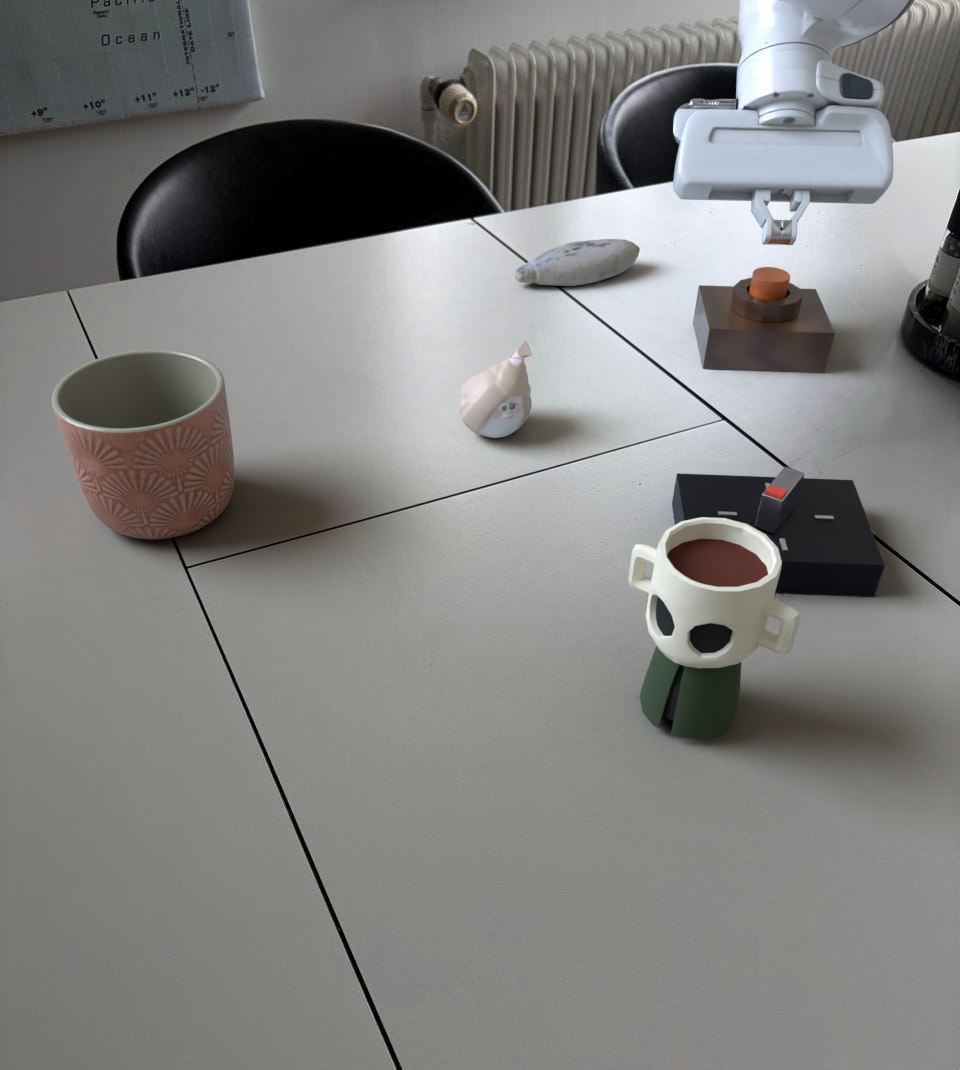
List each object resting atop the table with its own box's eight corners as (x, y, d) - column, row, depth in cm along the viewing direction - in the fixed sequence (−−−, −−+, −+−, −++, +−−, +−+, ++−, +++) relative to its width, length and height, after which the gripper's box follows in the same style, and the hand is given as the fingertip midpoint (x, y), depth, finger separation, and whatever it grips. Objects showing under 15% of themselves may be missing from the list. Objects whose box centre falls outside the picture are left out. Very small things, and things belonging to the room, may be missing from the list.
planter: (276, 498, 85) (258, 377, 78) (163, 576, 78) (131, 450, 70) (170, 451, 90) (144, 333, 83) (54, 519, 83) (14, 396, 75)
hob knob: (776, 498, 81) (785, 463, 79) (796, 505, 80) (805, 469, 78) (754, 527, 78) (762, 491, 76) (774, 534, 77) (783, 498, 75)
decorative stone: (504, 278, 118) (505, 248, 116) (621, 255, 123) (623, 226, 121) (529, 299, 114) (531, 269, 112) (649, 275, 119) (652, 245, 117)
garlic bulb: (532, 450, 91) (536, 366, 86) (459, 449, 91) (459, 366, 86) (528, 411, 96) (532, 330, 91) (459, 411, 96) (459, 329, 91)
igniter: (806, 327, 110) (820, 271, 106) (825, 373, 102) (840, 315, 98) (692, 323, 110) (701, 267, 106) (702, 368, 103) (712, 311, 99)
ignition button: (782, 287, 104) (787, 267, 102) (788, 303, 101) (793, 282, 100) (746, 286, 104) (750, 266, 102) (751, 301, 101) (755, 281, 100)
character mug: (587, 704, 68) (605, 546, 60) (642, 646, 73) (666, 491, 64) (737, 782, 64) (781, 623, 55) (786, 715, 68) (834, 557, 59)
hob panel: (843, 510, 85) (853, 478, 83) (874, 597, 77) (886, 563, 75) (671, 504, 85) (677, 471, 83) (684, 589, 77) (690, 555, 75)
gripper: (679, 79, 97) (674, 224, 96) (901, 83, 96) (898, 230, 95) (669, 116, 103) (664, 253, 102) (878, 121, 102) (874, 258, 102)
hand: (779, 242), depth 99 cm, fingers closed
